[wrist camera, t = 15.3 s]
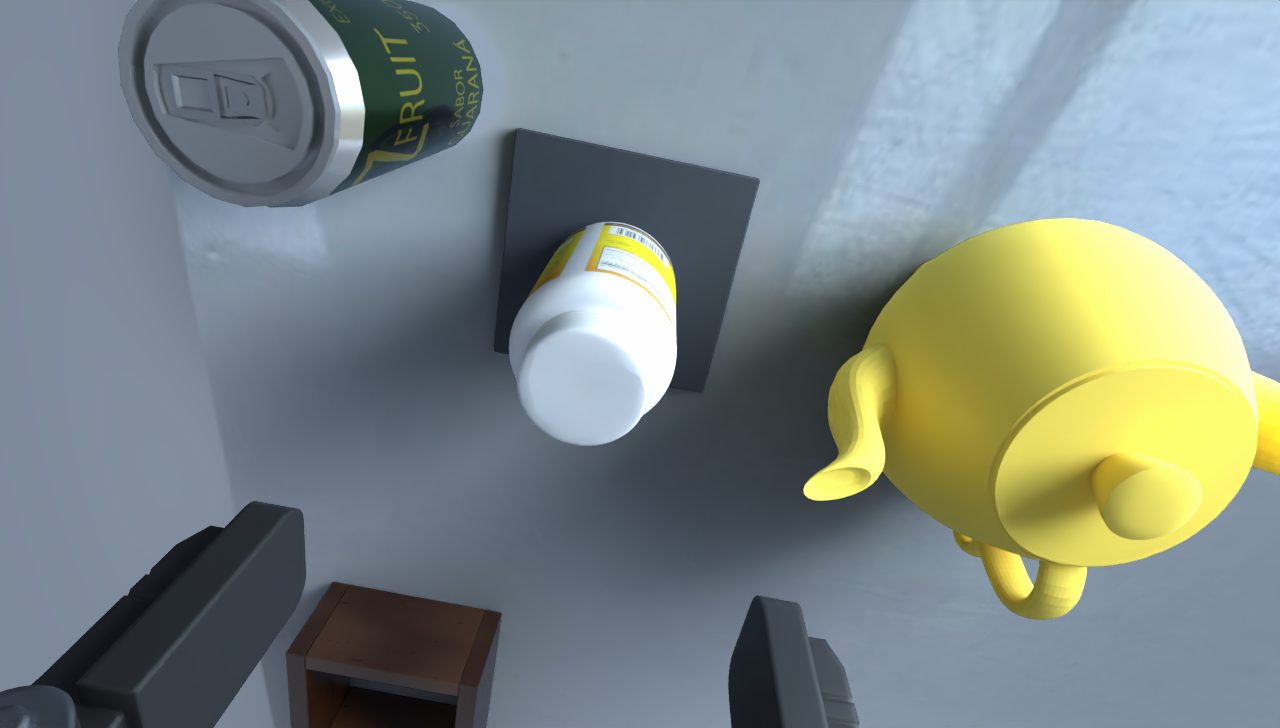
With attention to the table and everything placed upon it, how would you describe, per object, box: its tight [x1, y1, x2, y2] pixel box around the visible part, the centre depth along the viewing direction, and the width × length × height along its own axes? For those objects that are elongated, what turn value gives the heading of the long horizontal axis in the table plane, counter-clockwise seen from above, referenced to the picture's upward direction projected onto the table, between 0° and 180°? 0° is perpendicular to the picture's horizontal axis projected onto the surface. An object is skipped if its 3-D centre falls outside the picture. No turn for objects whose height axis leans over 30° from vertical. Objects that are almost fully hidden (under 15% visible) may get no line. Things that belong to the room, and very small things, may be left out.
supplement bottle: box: [509, 222, 677, 446], centre depth 23 cm, size 6×6×10 cm
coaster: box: [493, 128, 760, 393], centre depth 28 cm, size 10×10×1 cm
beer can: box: [118, 0, 483, 207], centre depth 20 cm, size 5×5×12 cm
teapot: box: [804, 218, 1280, 620], centre depth 24 cm, size 20×15×12 cm
